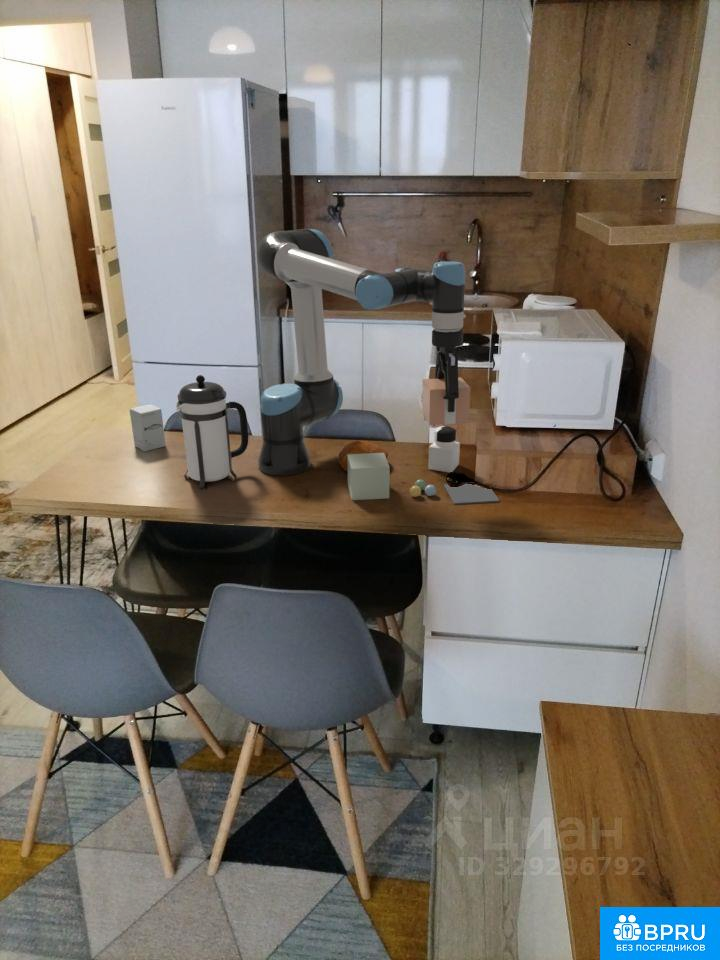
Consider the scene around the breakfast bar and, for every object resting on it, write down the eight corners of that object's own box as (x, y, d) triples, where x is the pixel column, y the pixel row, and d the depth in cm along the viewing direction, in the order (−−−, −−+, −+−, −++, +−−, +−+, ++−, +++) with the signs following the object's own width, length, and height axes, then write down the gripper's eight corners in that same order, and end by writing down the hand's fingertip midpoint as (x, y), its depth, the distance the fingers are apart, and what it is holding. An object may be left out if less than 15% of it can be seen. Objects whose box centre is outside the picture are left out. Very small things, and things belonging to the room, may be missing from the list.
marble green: (415, 492, 186) (415, 482, 184) (413, 488, 188) (413, 478, 187) (426, 492, 186) (426, 481, 185) (424, 487, 189) (424, 477, 187)
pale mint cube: (351, 500, 181) (351, 468, 178) (347, 484, 191) (347, 454, 187) (389, 498, 182) (389, 466, 179) (383, 482, 192) (383, 452, 188)
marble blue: (425, 498, 182) (426, 487, 181) (423, 493, 185) (423, 483, 184) (436, 497, 183) (437, 487, 181) (434, 492, 185) (434, 482, 184)
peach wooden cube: (429, 425, 171) (430, 389, 167) (422, 413, 180) (422, 379, 177) (469, 423, 172) (470, 387, 168) (459, 411, 181) (461, 377, 177)
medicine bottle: (459, 464, 203) (461, 426, 198) (451, 473, 197) (453, 433, 193) (436, 461, 206) (437, 422, 201) (427, 469, 200) (429, 430, 195)
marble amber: (410, 499, 182) (411, 488, 181) (408, 494, 185) (408, 484, 183) (422, 498, 182) (422, 488, 181) (419, 493, 185) (420, 483, 184)
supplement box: (145, 452, 214) (139, 413, 209) (134, 446, 219) (128, 408, 214) (166, 446, 219) (161, 408, 214) (155, 440, 224) (150, 403, 219)
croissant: (333, 479, 200) (331, 455, 195) (347, 453, 212) (345, 430, 208) (382, 483, 196) (381, 458, 192) (393, 456, 209) (392, 432, 205)
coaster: (454, 504, 179) (454, 503, 178) (443, 485, 190) (443, 484, 189) (499, 501, 180) (499, 500, 180) (486, 483, 191) (486, 481, 191)
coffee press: (229, 492, 187) (219, 384, 174) (174, 487, 190) (161, 381, 177) (251, 468, 202) (243, 367, 190) (200, 464, 205) (189, 364, 193)
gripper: (474, 337, 157) (470, 430, 166) (452, 320, 178) (450, 403, 187) (441, 338, 157) (439, 432, 165) (423, 321, 177) (422, 404, 186)
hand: (445, 416), depth 176 cm, fingers closed on peach wooden cube, 10 cm apart
